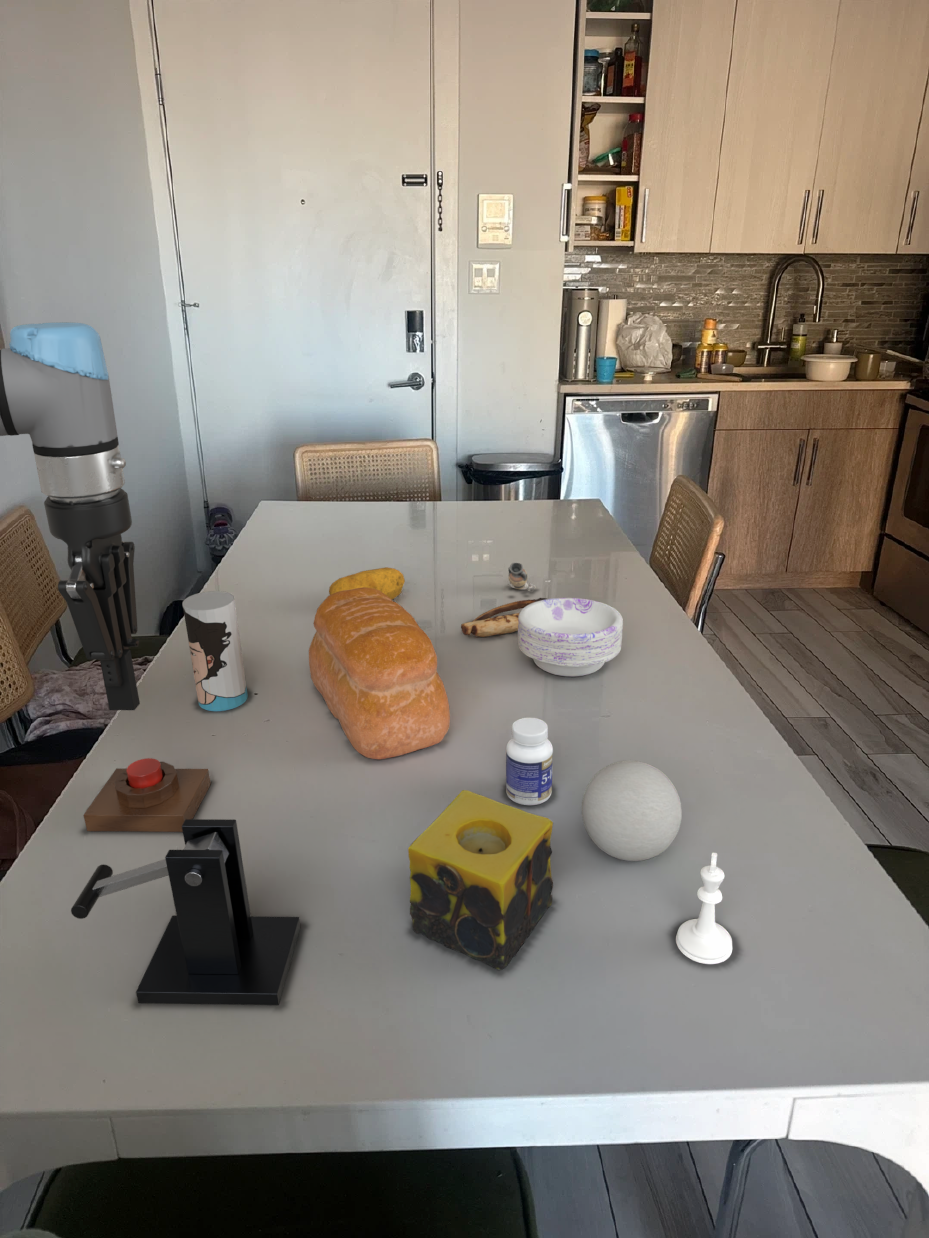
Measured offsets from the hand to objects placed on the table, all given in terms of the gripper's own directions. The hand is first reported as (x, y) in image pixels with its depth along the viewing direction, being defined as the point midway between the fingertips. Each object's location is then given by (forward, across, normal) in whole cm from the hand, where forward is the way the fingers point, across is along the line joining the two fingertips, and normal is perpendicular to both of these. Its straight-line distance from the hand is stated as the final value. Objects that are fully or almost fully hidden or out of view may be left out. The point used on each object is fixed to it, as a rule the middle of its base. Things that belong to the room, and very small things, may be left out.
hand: (124, 706), depth 93 cm
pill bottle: (+13, +3, -44) cm, 46 cm away
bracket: (+13, -22, -16) cm, 30 cm away
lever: (+4, -23, -11) cm, 25 cm away
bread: (+13, +22, -24) cm, 35 cm away
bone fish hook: (+13, +49, -42) cm, 66 cm away
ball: (+13, -7, -54) cm, 56 cm away
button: (+10, 0, -1) cm, 10 cm away
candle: (+13, -17, -39) cm, 44 cm away
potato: (+13, +58, -18) cm, 62 cm away
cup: (+13, +26, -2) cm, 29 cm away
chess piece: (+13, -20, -59) cm, 63 cm away
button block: (+13, 0, -1) cm, 13 cm away
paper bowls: (+13, +36, -51) cm, 64 cm away
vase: (+13, +64, -44) cm, 79 cm away
